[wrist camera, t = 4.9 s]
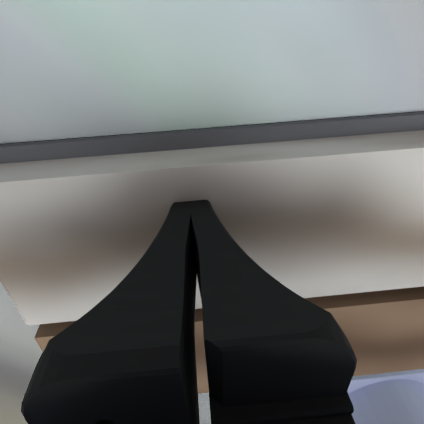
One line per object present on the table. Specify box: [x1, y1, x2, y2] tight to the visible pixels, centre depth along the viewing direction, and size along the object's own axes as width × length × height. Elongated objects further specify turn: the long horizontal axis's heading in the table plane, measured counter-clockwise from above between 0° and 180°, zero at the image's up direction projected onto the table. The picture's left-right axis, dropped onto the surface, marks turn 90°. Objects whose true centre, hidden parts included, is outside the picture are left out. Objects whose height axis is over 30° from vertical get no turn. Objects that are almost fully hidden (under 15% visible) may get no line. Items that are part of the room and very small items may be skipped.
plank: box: [0, 130, 424, 326], centre depth 13 cm, size 7×22×2 cm, turn 93°
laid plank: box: [35, 286, 424, 393], centre depth 18 cm, size 6×22×2 cm, turn 93°
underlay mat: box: [0, 111, 424, 164], centre depth 16 cm, size 15×23×1 cm, turn 93°
